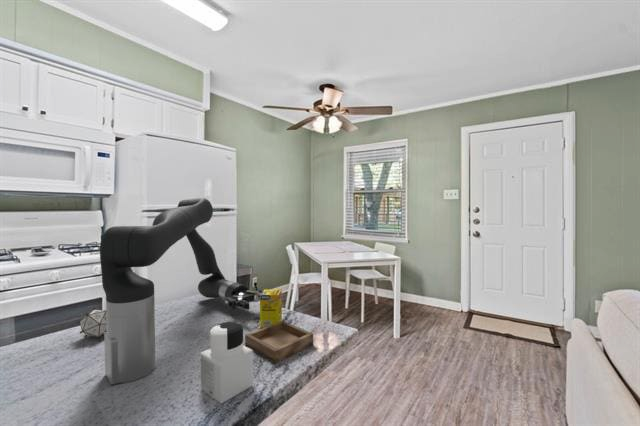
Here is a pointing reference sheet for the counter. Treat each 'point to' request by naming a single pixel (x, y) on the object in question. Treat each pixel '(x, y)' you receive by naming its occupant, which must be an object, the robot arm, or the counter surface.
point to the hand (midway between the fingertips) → (259, 303)
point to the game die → (94, 323)
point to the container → (226, 363)
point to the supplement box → (270, 307)
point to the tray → (278, 341)
